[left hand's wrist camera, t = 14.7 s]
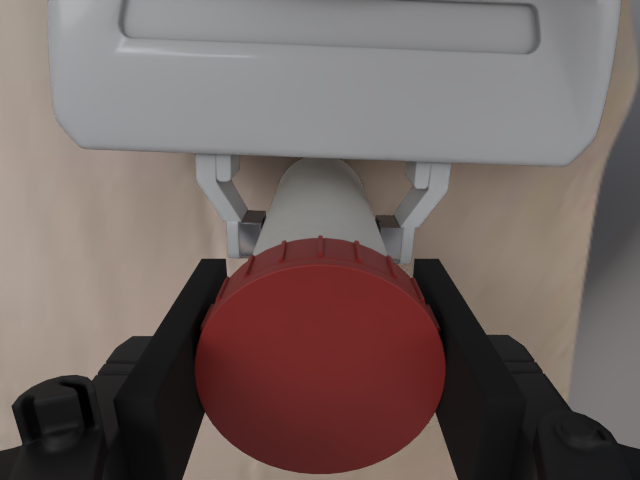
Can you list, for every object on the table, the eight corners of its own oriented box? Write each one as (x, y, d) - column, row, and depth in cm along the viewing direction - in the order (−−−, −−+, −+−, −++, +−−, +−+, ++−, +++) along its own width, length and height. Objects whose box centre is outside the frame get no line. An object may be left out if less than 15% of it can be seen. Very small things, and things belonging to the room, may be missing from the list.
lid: (366, 455, 14) (372, 506, 12) (175, 383, 13) (155, 427, 11) (476, 293, 12) (500, 328, 10) (260, 194, 11) (250, 215, 9)
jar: (337, 252, 27) (358, 472, 12) (262, 215, 26) (186, 402, 12) (379, 180, 26) (462, 331, 11) (300, 138, 25) (271, 239, 10)
